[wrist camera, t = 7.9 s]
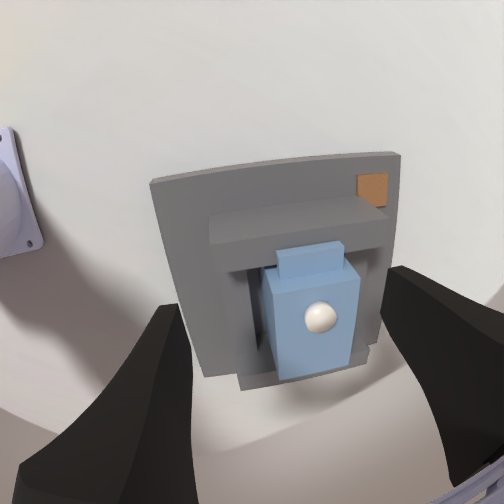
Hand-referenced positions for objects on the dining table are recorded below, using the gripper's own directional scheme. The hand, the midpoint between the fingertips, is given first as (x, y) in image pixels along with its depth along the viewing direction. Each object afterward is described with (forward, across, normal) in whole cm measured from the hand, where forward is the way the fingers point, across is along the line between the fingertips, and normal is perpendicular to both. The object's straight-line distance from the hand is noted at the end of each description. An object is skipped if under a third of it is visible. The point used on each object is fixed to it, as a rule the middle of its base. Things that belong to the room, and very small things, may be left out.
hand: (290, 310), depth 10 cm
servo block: (+8, -2, +4) cm, 9 cm away
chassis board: (+8, -2, +4) cm, 10 cm away
